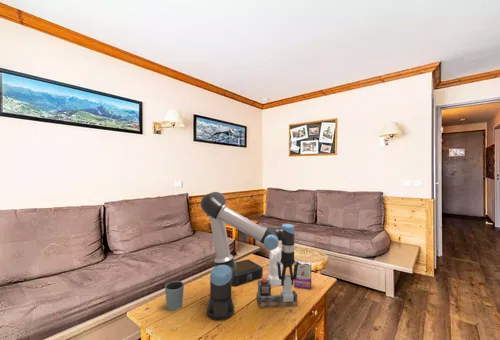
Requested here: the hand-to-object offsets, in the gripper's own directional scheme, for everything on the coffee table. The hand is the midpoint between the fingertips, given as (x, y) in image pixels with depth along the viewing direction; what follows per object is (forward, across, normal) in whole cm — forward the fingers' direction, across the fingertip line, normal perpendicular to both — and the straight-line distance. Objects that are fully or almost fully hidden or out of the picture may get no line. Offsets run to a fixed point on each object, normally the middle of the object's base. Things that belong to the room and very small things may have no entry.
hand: (287, 290), depth 137 cm
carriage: (+5, 0, 0) cm, 5 cm away
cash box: (+8, -23, +35) cm, 43 cm away
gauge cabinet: (+7, -12, +9) cm, 17 cm away
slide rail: (+7, -6, 0) cm, 9 cm away
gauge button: (-1, -12, +9) cm, 15 cm away
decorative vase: (+7, -1, +25) cm, 26 cm away
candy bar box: (+7, +16, +17) cm, 24 cm away
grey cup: (+7, -65, +3) cm, 65 cm away
